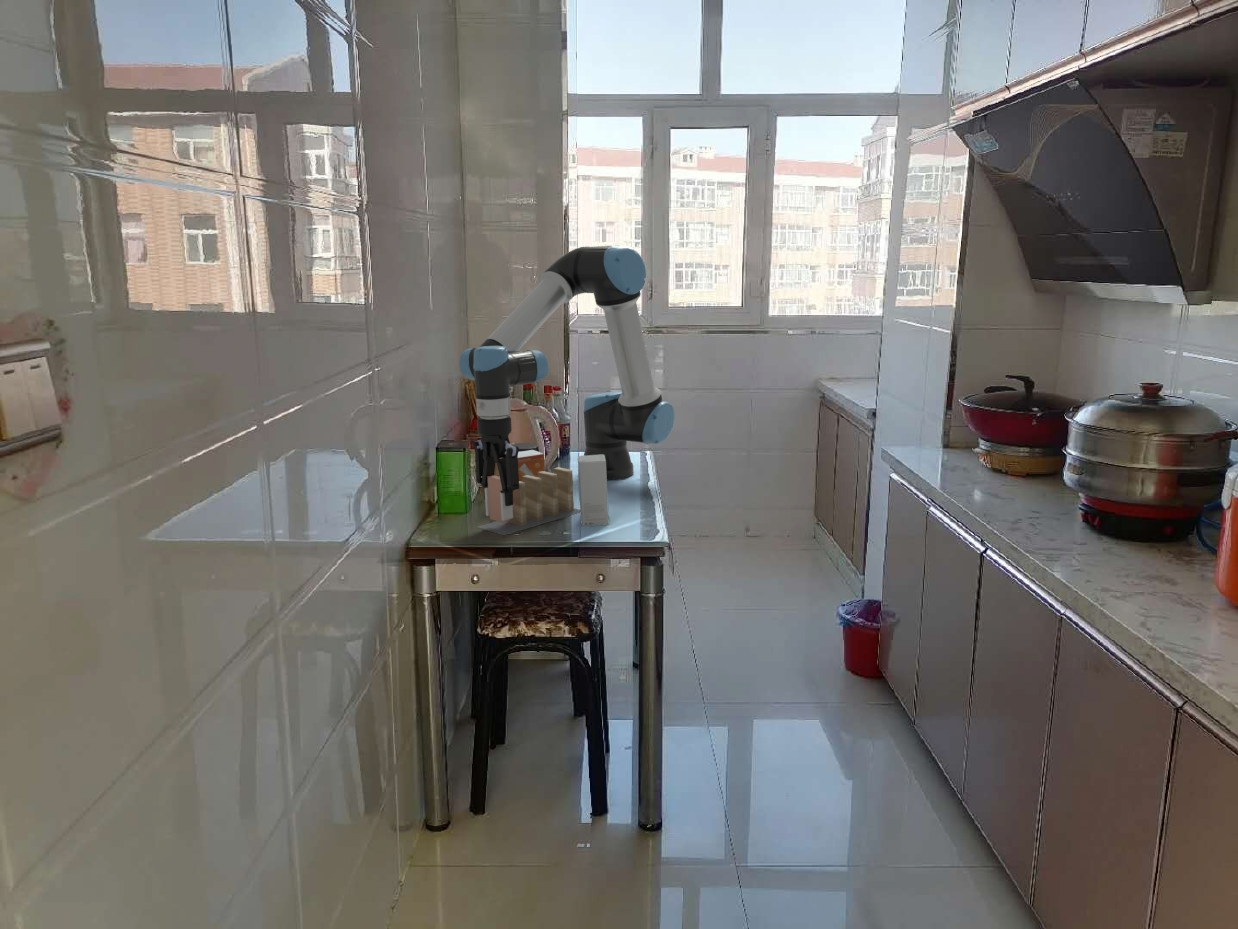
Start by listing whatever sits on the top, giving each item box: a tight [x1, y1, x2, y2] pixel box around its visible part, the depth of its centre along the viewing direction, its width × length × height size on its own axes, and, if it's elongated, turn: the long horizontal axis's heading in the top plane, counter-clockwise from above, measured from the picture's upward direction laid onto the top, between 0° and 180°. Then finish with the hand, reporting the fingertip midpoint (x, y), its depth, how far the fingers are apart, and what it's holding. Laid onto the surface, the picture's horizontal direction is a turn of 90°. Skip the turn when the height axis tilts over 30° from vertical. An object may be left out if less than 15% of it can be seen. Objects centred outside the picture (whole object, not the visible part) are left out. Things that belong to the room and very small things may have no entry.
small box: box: [518, 450, 546, 482], centre depth 233 cm, size 8×6×13 cm
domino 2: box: [508, 481, 527, 526], centre depth 215 cm, size 2×5×10 cm, turn 46°
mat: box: [477, 507, 581, 536], centre depth 219 cm, size 25×10×1 cm, turn 136°
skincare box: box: [577, 454, 610, 527], centre depth 215 cm, size 8×7×16 cm
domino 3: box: [522, 475, 543, 521], centre depth 219 cm, size 2×5×10 cm, turn 46°
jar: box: [511, 442, 540, 452], centre depth 247 cm, size 9×8×12 cm
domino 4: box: [538, 470, 559, 516], centre depth 222 cm, size 2×5×10 cm, turn 46°
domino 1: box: [487, 474, 509, 523], centre depth 211 cm, size 2×5×10 cm, turn 46°
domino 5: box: [552, 466, 575, 512], centre depth 226 cm, size 2×5×10 cm, turn 46°
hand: (499, 516), depth 212 cm, fingers closed on domino 1, 5 cm apart
